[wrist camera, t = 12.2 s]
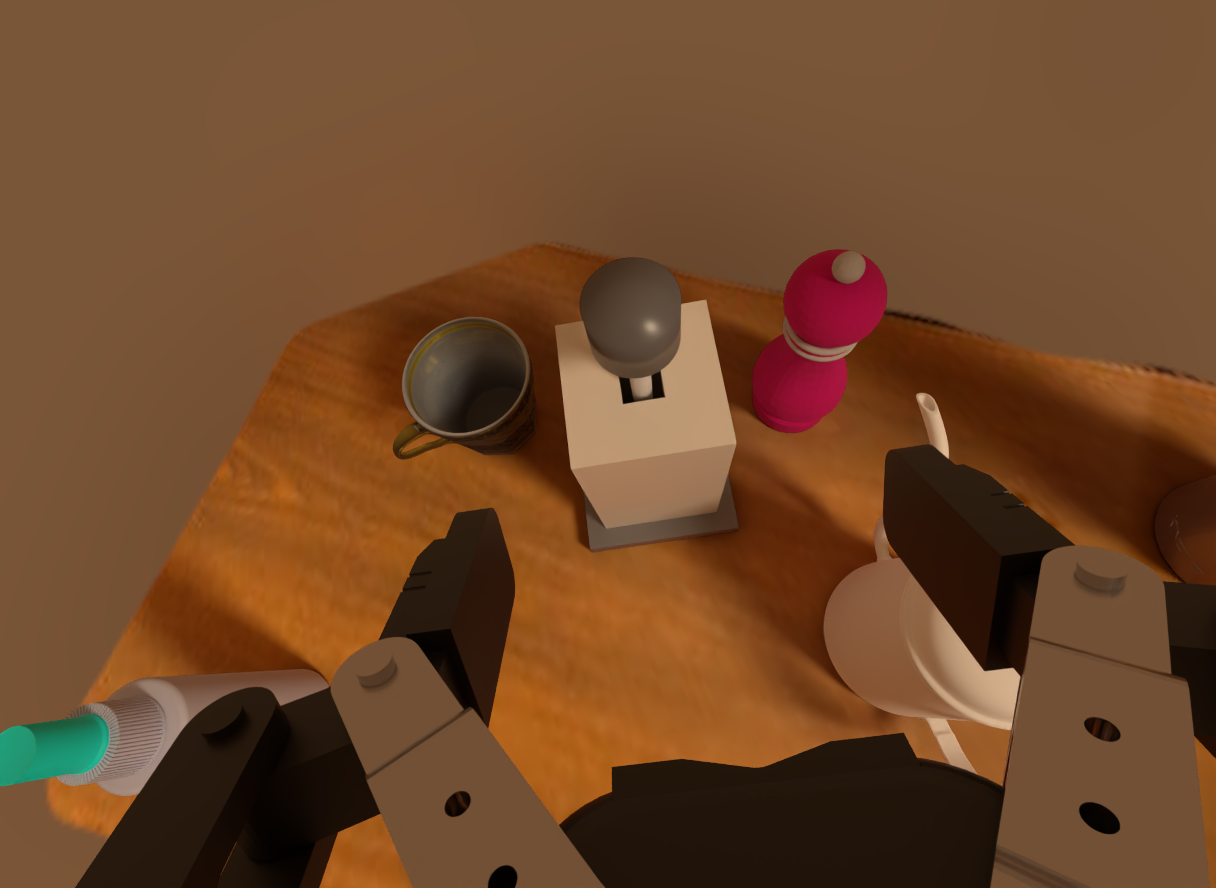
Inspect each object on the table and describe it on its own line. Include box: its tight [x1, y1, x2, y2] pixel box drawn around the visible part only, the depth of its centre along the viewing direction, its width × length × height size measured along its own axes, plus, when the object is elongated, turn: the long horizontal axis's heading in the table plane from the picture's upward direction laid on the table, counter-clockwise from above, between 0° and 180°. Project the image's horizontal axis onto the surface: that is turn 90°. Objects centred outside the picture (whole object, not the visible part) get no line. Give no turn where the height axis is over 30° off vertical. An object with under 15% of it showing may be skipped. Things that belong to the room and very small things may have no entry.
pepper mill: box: [752, 249, 887, 433], centre depth 42 cm, size 7×7×20 cm
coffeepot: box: [824, 393, 1020, 775], centre depth 36 cm, size 11×25×19 cm, turn 10°
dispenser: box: [555, 300, 739, 552], centre depth 42 cm, size 12×13×18 cm
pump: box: [580, 258, 681, 402], centre depth 35 cm, size 4×4×21 cm
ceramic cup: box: [393, 317, 537, 459], centre depth 49 cm, size 13×10×10 cm
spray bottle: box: [0, 669, 329, 796], centre depth 37 cm, size 6×6×22 cm
